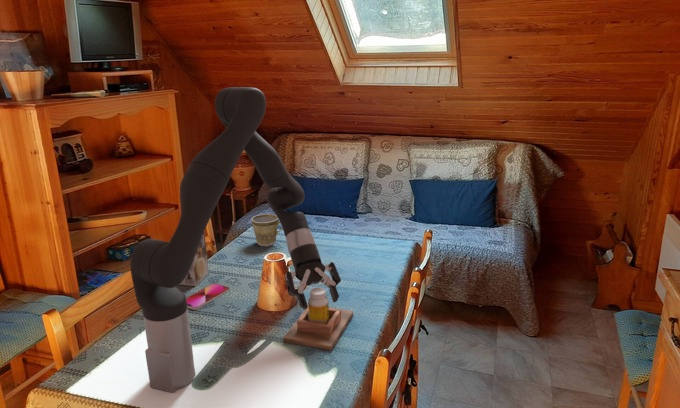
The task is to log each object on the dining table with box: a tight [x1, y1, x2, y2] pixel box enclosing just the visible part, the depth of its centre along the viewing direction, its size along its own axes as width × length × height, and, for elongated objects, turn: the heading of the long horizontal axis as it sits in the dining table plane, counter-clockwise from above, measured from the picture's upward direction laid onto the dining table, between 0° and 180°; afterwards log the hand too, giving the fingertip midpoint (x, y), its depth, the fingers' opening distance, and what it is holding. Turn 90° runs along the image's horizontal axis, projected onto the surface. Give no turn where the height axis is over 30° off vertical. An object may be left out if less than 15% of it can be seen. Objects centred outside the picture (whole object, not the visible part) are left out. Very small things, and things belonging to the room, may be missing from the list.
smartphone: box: [186, 283, 231, 311], centre depth 154 cm, size 7×1×15 cm
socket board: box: [282, 307, 354, 351], centre depth 136 cm, size 18×13×4 cm
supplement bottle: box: [307, 287, 329, 324], centre depth 135 cm, size 5×5×10 cm
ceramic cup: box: [251, 213, 283, 247], centre depth 192 cm, size 13×10×10 cm
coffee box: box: [178, 232, 210, 287], centre depth 163 cm, size 9×6×16 cm
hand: (321, 304), depth 134 cm, fingers open, 8 cm apart
